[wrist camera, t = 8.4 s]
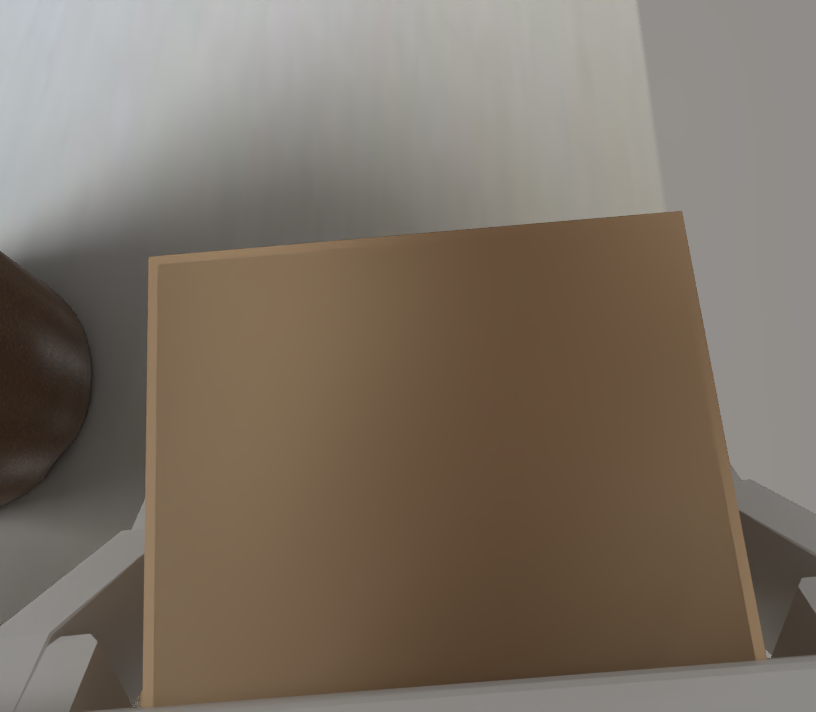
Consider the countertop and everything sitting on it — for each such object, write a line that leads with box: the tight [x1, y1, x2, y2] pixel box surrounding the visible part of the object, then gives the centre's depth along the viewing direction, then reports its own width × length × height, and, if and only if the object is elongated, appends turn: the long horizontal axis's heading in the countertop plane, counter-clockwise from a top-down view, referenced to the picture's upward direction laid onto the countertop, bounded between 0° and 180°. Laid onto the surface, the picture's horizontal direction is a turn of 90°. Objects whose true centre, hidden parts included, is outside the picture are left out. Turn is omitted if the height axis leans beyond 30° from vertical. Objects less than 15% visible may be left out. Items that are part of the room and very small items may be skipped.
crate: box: [142, 211, 767, 708], centre depth 11 cm, size 6×6×10 cm
